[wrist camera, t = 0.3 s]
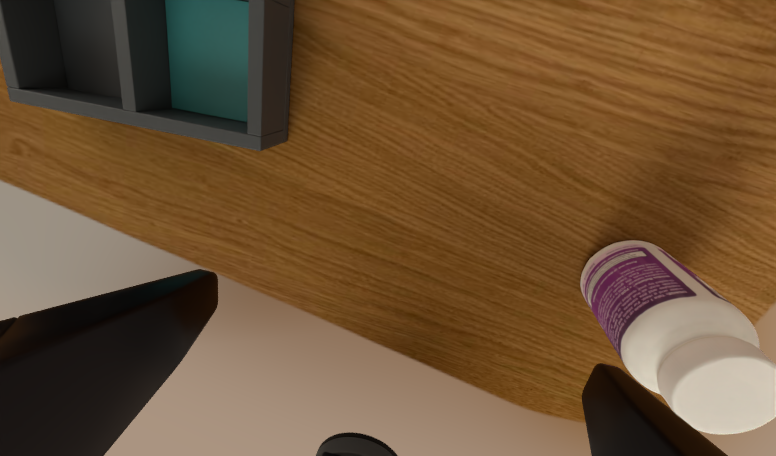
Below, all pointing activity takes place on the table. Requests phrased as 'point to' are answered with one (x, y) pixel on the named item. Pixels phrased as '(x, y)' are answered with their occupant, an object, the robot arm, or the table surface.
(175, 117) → the compartment tray
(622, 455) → the robot arm
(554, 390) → the table surface
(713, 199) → the table surface
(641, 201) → the table surface
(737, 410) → the pill bottle
